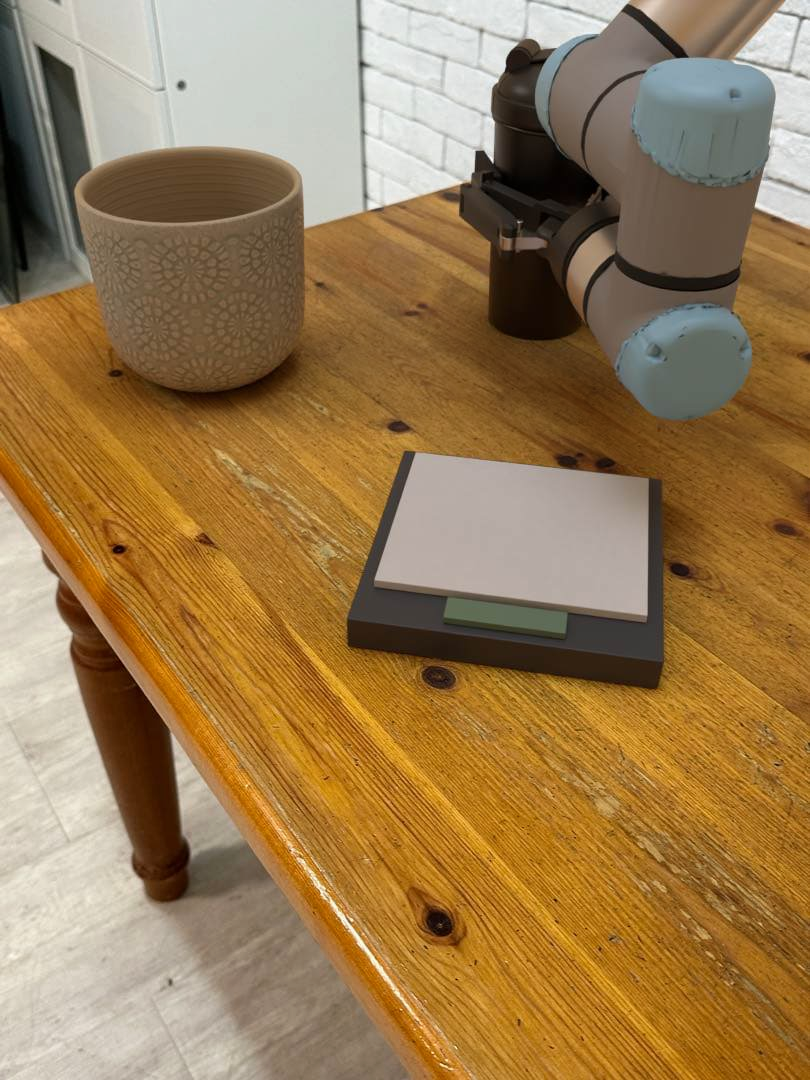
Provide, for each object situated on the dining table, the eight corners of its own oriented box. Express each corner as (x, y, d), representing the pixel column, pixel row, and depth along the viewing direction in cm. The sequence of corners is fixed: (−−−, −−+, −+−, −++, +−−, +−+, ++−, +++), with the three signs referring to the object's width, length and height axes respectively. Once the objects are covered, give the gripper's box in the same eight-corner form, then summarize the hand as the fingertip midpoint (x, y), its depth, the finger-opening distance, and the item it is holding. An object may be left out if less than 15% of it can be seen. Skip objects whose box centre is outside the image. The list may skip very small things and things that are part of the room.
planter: (304, 416, 82) (293, 225, 72) (87, 415, 81) (47, 224, 72) (317, 318, 95) (309, 145, 85) (130, 317, 95) (101, 144, 85)
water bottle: (578, 352, 90) (614, 69, 76) (464, 333, 93) (479, 55, 79) (600, 303, 98) (636, 37, 84) (494, 287, 100) (512, 26, 86)
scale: (657, 504, 73) (663, 471, 71) (657, 689, 59) (665, 654, 57) (404, 475, 75) (404, 442, 74) (347, 646, 62) (346, 610, 60)
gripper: (462, 329, 75) (409, 212, 92) (749, 309, 77) (645, 200, 95) (467, 227, 70) (410, 124, 87) (772, 210, 73) (659, 114, 90)
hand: (533, 163), depth 91 cm, fingers open, 9 cm apart
